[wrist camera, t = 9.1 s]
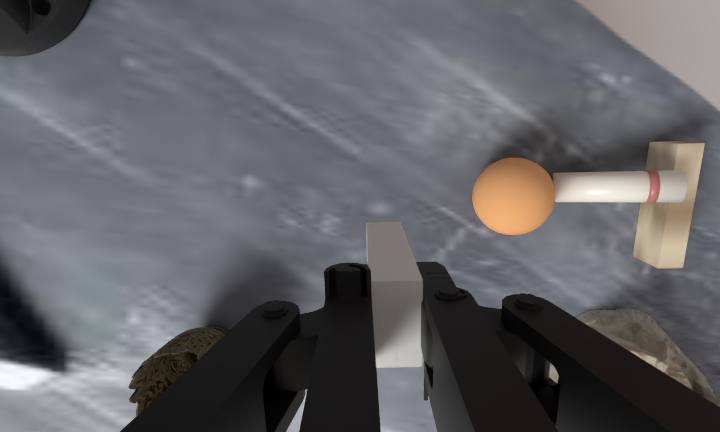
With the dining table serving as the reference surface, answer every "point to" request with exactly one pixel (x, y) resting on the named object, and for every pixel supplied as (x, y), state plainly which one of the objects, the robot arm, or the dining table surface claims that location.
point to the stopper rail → (668, 207)
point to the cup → (171, 363)
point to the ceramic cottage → (646, 346)
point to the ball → (513, 196)
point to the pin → (621, 186)
